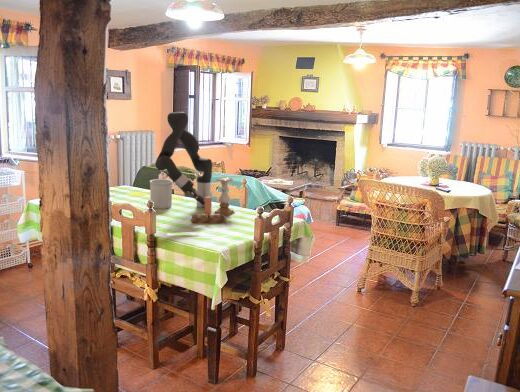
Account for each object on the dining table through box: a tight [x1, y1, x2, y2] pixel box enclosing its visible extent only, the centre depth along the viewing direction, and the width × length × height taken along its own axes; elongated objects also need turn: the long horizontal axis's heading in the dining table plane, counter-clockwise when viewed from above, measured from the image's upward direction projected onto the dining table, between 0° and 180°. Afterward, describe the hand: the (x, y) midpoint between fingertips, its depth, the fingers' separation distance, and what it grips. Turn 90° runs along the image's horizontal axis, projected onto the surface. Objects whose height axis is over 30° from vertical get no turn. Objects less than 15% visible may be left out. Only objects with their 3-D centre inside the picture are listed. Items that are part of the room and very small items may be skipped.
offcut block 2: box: [209, 213, 220, 218], centre depth 275 cm, size 6×3×4 cm, turn 101°
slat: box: [204, 197, 212, 216], centre depth 278 cm, size 4×2×14 cm, turn 101°
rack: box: [190, 213, 227, 225], centre depth 277 cm, size 20×11×4 cm, turn 101°
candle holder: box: [213, 177, 236, 217], centre depth 295 cm, size 11×11×24 cm
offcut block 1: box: [197, 213, 208, 218], centre depth 274 cm, size 6×3×4 cm, turn 101°
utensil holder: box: [149, 178, 173, 210], centre depth 314 cm, size 15×15×18 cm
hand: (203, 202), depth 277 cm, fingers open, 8 cm apart
